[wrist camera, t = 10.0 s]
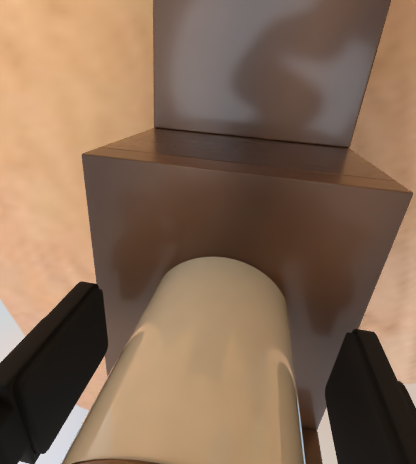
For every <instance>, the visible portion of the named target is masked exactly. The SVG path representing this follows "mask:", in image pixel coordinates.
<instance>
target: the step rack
mask: <svg viewBox="0 0 416 464" xmlns="http://www.w3.org/2000/svg"><path fill="white" fill-rule="evenodd" d="M390 2H391V0H153V49H154V127H155V128H153V129H150V130H148V131H145V132H142V133H139V134H136V135H134V136H131V137H128V138H125V139H122V140H119V141H117V142H114V143H111V144H108V145H105V146H103V147H100V148H97V149H94V150H91V151H89V152H86V153H83V154H82V162H83V171H84V179H85V188H86V196H87V205H88V214H89V222H90V231H91V240H92V248H93V257H94V265H95V274H96V283H97V285H98V286H99V289H102V291H103V298H104V307H105V317H106V326H107V335H108V349H107V352H106V354H105V360H106V369H107V377H108V375H109V373H110V372H111V370H112V368H113V366H114V364H115V362H116V361H117V359H118V357H119V355H120V353H121V351H122V349H123V348H124V346H125V344H126V342H127V340H128V338H129V337H130V335H131V333H132V331H133V329H134V327H135V325H136V324H137V322H138V320H139V318H140V316H141V314H142V313H143V311H144V309H145V307H146V305H147V303H148V302H149V300H150V298H151V296H152V294H153V292H154V290H155V289H156V287H157V285H158V283H159V282H160V280H161V279H162V278H163V276H164V275H165V274H166V273H167V272H168V271H170V270H171V269H172V268H174V267H175V266H177V265H179V264H181V263H183V262H186V261H188V260H191V259H195V258H200V257H215V256H216V257H226V258H231V259H235V260H238V261H241V262H244V263H247V264H249V265H251V266H253V267H255V268H256V269H258V270H260V271H261V272H263V273H264V274H265V275H266V276H268V277H269V278H270V279H271V280H272V281H273V282H274V283H275V284H276V285H277V287H278V288H279V289H280V291H281V292H282V294H283V296H284V298H285V300H286V303H287V306H288V311H289V318H290V327H291V336H292V345H293V354H294V363H295V372H296V381H297V390H298V398H299V407H300V416H301V425H302V434H303V443H304V452H305V461H306V464H322V457H321V451H320V445H319V439H318V432H317V429H318V426H319V424H320V421H321V419H322V417H323V414H324V412H325V409H326V407H327V405H326V400H325V387H326V384H327V382H328V379H329V376H330V374H331V371H332V369H333V366H334V363H335V361H336V358H337V356H338V353H339V351H340V348H341V345H342V343H343V340H344V338H345V335H346V333H347V332H349V333H352V331H353V330H354V329H358V328H359V326H360V323H361V321H362V318H363V316H364V313H365V311H366V308H367V306H368V304H369V301H370V299H371V296H372V294H373V291H374V289H375V286H376V284H377V281H378V279H379V277H380V274H381V272H382V269H383V267H384V264H385V262H386V259H387V257H388V254H389V252H390V249H391V247H392V245H393V242H394V240H395V237H396V235H397V232H398V230H399V227H400V225H401V222H402V220H403V218H404V215H405V213H406V210H407V208H408V205H409V203H410V200H411V198H412V195H413V193H412V192H411V191H409V190H408V189H407V188H405V187H404V186H402V185H401V184H399V183H398V182H396V181H395V180H394V179H392V178H391V177H389V176H388V175H387V174H385V173H384V172H382V171H381V170H379V169H378V168H376V167H375V166H374V165H372V164H371V163H369V162H368V161H366V160H365V159H363V158H362V157H361V156H359V155H358V154H356V153H355V152H353V151H352V150H351V149H349V147H350V143H351V140H352V136H353V133H354V129H355V126H356V122H357V119H358V115H359V112H360V108H361V105H362V101H363V98H364V94H365V91H366V87H367V84H368V80H369V76H370V73H371V69H372V66H373V62H374V59H375V55H376V52H377V48H378V45H379V41H380V38H381V34H382V31H383V27H384V24H385V20H386V17H387V13H388V10H389V6H390Z"/></svg>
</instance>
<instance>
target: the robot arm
mask: <svg viewBox="0 0 416 464" xmlns="http://www.w3.org/2000/svg"><path fill="white" fill-rule="evenodd" d="M107 349H108V335H107V326H106V317H105V307H104V298H103V291H102V289H99V286H98V285H97V284H93V283H88V282H79V283H78V284H77V285H76V286H75V287H74V288H73V289H72V290H71V291H70V292H69V293H68V294H67V295H66V296H65V297H64V298H63V300H62V301H61V302H60V303H59V304H58V305H57V306H56V307H55V308H54V309H53V310H52V311H51V312H50V313H49V314H48V315H47V316H46V317H45V318H43V319H42V320H41V321H40V322H39V323H38V324H37V325H36V326H35V327H34V328H33V330H32V331H31V332H30V333H29V334H28V335H27V336H26V337H25V338H24V339H23V340H22V341H21V342H20V343H19V344H18V345H17V346H16V347H15V348H14V350H12V351H11V353H9V355H8V356H7V357H6V358H5V359H4V360H3V361H2V362H1V363H0V464H17V463H18V462H19V461H21V462H25V463H29V464H35V462H36V460H37V459H38V457H39V455H40V454H44V453H46V451H47V450H48V449H49V448H50V446H51V444H52V443H53V441H54V439H55V438H56V436H57V434H58V433H59V431H60V429H61V428H62V426H63V424H64V423H65V421H66V419H67V418H68V416H69V414H70V413H71V411H72V409H73V408H74V406H75V404H76V403H77V401H78V399H79V398H80V396H81V394H82V393H83V391H84V389H85V388H86V386H87V384H88V383H89V381H90V379H91V378H92V376H93V374H94V373H95V371H96V369H97V368H98V366H99V364H100V362H101V361H102V359H103V357H104V356H105V354H106V352H107ZM325 400H326V405H327V411H328V415H329V420H330V425H331V431H332V436H333V441H334V446H335V451H336V456H337V461H338V464H416V408H415V406H414V404H413V402H412V400H411V397H410V395H409V393H408V391H407V389H406V388H405V386H404V385H403V384H402V383H401V382H400V381H397V379H396V377H395V374H394V372H393V370H392V368H391V366H390V363H389V361H388V359H387V357H386V355H385V352H384V350H383V348H382V346H381V344H380V342H379V339H378V337H377V335H376V334H375V333H374V332H370V331H365V330H359V329H354V330H353V331H352V333H349V332H347V333H346V335H345V338H344V340H343V343H342V345H341V348H340V351H339V353H338V356H337V358H336V361H335V363H334V366H333V369H332V371H331V374H330V376H329V379H328V382H327V384H326V387H325Z"/></svg>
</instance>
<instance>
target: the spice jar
mask: <svg viewBox="0 0 416 464" xmlns="http://www.w3.org/2000/svg"><path fill="white" fill-rule="evenodd" d="M61 464H306V461H305V452H304V443H303V434H302V425H301V416H300V407H299V398H298V390H297V381H296V372H295V363H294V354H293V345H292V336H291V327H290V318H289V311H288V306H287V303H286V300H285V298H284V296H283V294H282V292H281V291H280V289H279V288H278V287H277V285H276V284H275V283H274V282H273V281H272V280H271V279H270V278H269V277H268V276H266V275H265V274H264V273H263V272H261V271H260V270H258V269H256V268H255V267H253V266H251V265H249V264H247V263H244V262H241V261H238V260H235V259H231V258H226V257H216V256H215V257H200V258H195V259H191V260H188V261H186V262H183V263H181V264H179V265H177V266H175V267H174V268H172V269H171V270H170V271H168V272H167V273H166V274H165V275H164V276H163V278H162V279H161V280H160V282H159V283H158V285H157V287H156V289H155V290H154V292H153V294H152V296H151V298H150V300H149V302H148V303H147V305H146V307H145V309H144V311H143V313H142V314H141V316H140V318H139V320H138V322H137V324H136V325H135V327H134V329H133V331H132V333H131V335H130V337H129V338H128V340H127V342H126V344H125V346H124V348H123V349H122V351H121V353H120V355H119V357H118V359H117V361H116V362H115V364H114V366H113V368H112V370H111V372H110V373H109V375H108V377H107V379H106V381H105V383H104V384H103V386H102V388H101V390H100V392H99V394H98V396H97V397H96V399H95V401H94V403H93V405H92V407H91V408H90V410H89V412H88V414H87V416H86V418H85V420H84V422H83V423H82V425H81V427H80V429H79V431H78V432H77V434H76V436H75V438H74V440H73V442H72V443H71V445H70V447H69V449H68V451H67V453H66V455H65V456H64V458H63V460H62V462H61Z"/></svg>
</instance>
